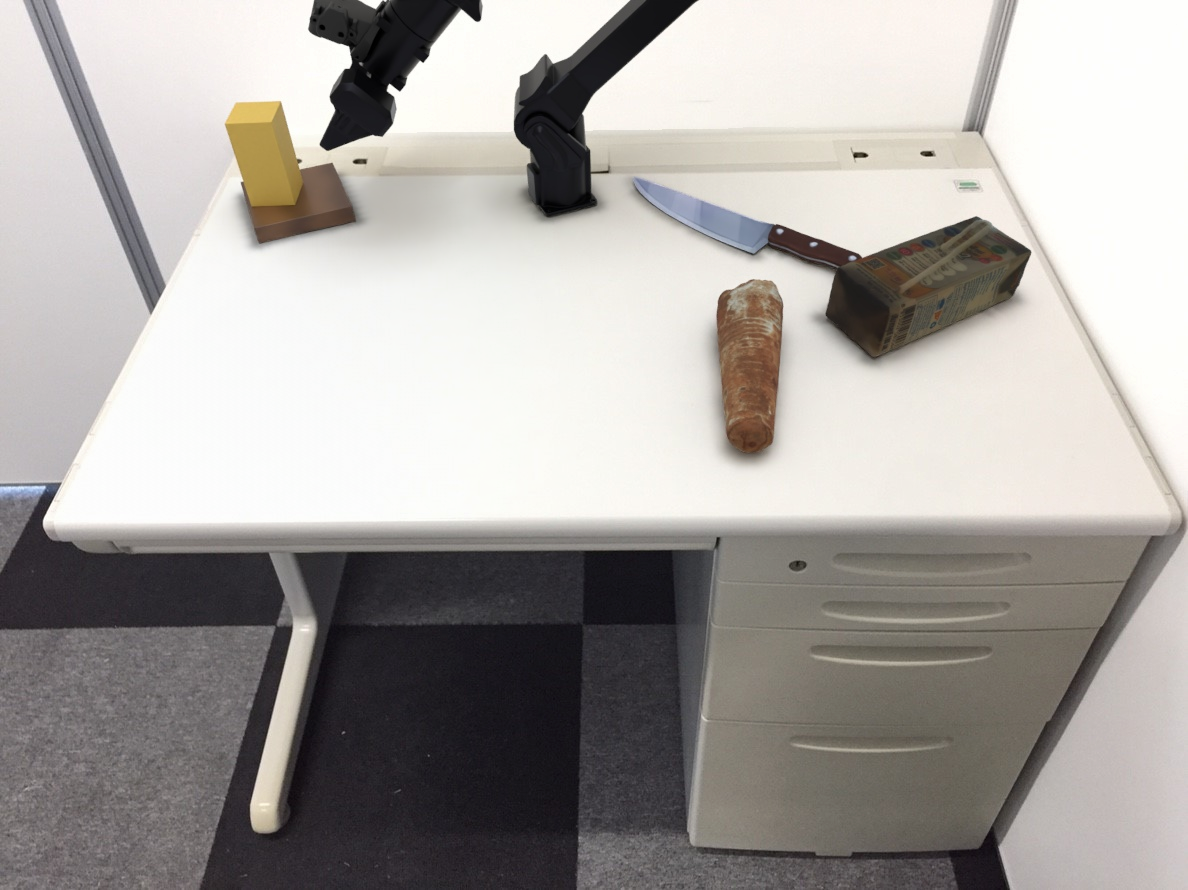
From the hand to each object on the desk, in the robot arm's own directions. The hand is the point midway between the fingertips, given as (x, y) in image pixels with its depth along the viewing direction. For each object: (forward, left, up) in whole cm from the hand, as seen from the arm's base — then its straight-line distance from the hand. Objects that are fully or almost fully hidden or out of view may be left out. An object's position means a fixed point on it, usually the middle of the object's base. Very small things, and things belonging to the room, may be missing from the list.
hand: (330, 127), depth 101 cm
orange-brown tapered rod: (-27, +47, -10) cm, 55 cm away
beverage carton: (-49, +44, -10) cm, 66 cm away
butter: (+7, -3, -8) cm, 11 cm away
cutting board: (+5, -2, -10) cm, 12 cm away
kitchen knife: (-40, +23, -10) cm, 47 cm away
